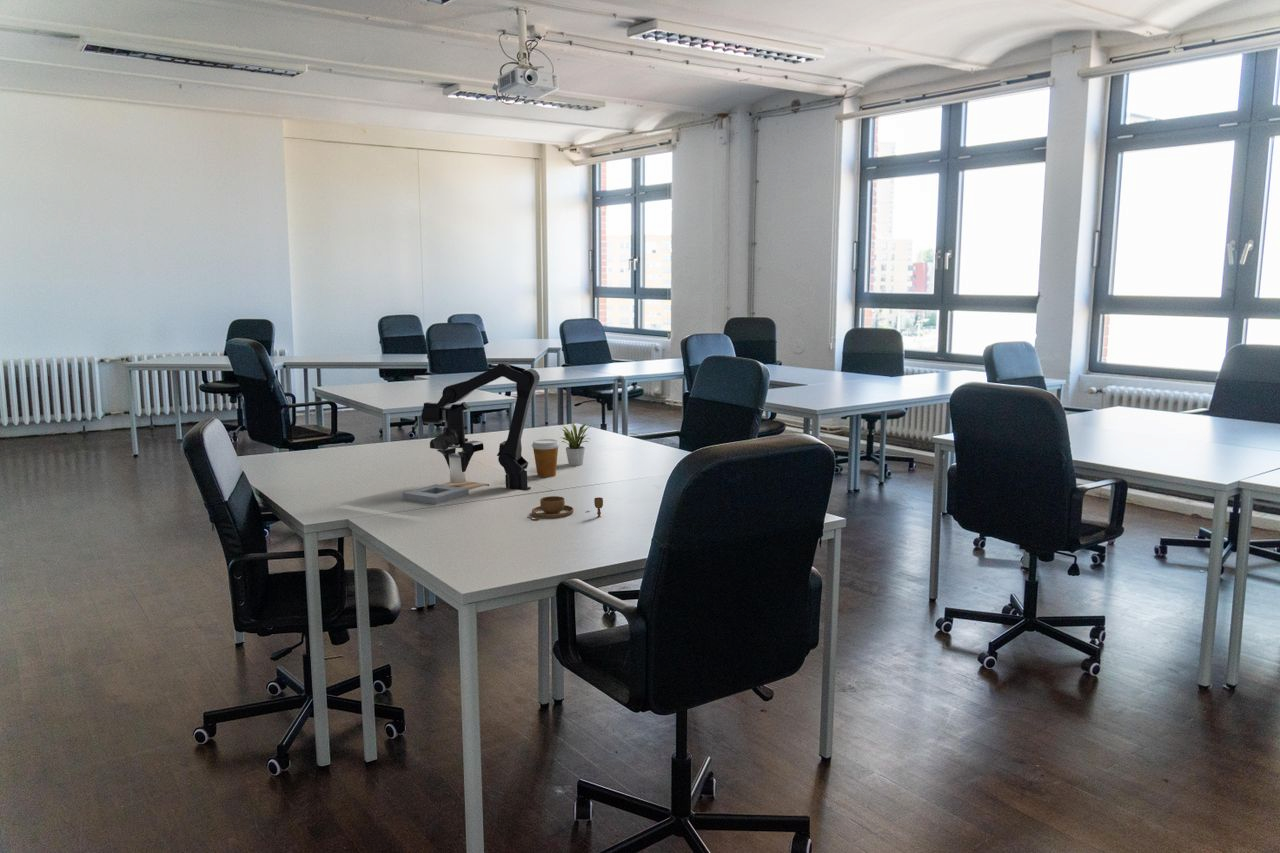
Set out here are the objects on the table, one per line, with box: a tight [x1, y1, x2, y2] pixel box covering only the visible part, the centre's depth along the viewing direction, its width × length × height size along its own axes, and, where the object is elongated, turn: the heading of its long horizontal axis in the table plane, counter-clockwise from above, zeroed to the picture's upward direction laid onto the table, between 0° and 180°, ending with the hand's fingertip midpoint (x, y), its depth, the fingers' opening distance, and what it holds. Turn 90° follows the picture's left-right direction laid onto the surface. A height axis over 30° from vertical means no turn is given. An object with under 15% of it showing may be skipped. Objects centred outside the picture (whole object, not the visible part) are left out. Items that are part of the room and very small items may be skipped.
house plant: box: [559, 422, 596, 466], centre depth 333 cm, size 14×14×16 cm
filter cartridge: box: [448, 452, 467, 483], centre depth 294 cm, size 5×5×9 cm
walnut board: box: [440, 480, 490, 491], centre depth 295 cm, size 14×14×1 cm
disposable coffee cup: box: [531, 438, 560, 478], centre depth 314 cm, size 10×10×12 cm
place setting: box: [528, 495, 604, 521], centre depth 257 cm, size 18×20×6 cm
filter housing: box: [402, 483, 470, 505], centre depth 280 cm, size 14×14×3 cm
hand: (457, 471), depth 294 cm, fingers closed on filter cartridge, 5 cm apart
